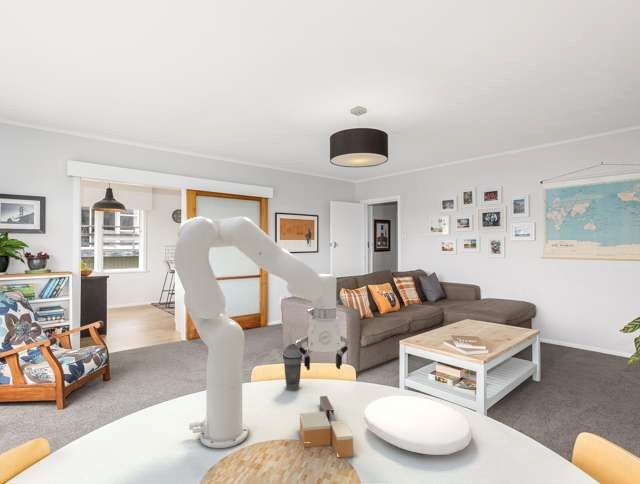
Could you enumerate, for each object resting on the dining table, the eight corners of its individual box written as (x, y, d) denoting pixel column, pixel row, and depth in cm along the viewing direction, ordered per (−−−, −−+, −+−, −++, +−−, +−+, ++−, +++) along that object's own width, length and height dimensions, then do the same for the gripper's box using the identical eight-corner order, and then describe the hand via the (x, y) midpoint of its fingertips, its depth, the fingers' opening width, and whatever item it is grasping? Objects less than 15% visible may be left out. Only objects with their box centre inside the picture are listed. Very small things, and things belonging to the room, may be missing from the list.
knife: (333, 436, 100) (333, 425, 100) (320, 405, 118) (320, 396, 118) (341, 435, 100) (340, 424, 100) (326, 405, 119) (326, 395, 119)
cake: (304, 447, 94) (303, 427, 94) (299, 431, 102) (299, 413, 102) (330, 444, 95) (330, 425, 96) (324, 429, 103) (324, 411, 103)
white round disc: (476, 406, 107) (467, 453, 83) (473, 428, 107) (465, 482, 83) (382, 379, 120) (352, 414, 96) (380, 399, 120) (349, 438, 96)
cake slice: (337, 457, 90) (337, 437, 90) (330, 440, 97) (330, 421, 98) (353, 456, 90) (352, 435, 90) (345, 439, 98) (344, 420, 98)
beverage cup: (295, 393, 128) (294, 335, 129) (278, 389, 132) (278, 332, 132) (306, 386, 134) (306, 331, 135) (290, 382, 138) (290, 329, 139)
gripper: (298, 315, 111) (297, 373, 111) (353, 315, 114) (352, 371, 113) (295, 311, 119) (294, 365, 118) (347, 311, 121) (346, 363, 121)
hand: (322, 368), depth 116 cm, fingers open, 9 cm apart
